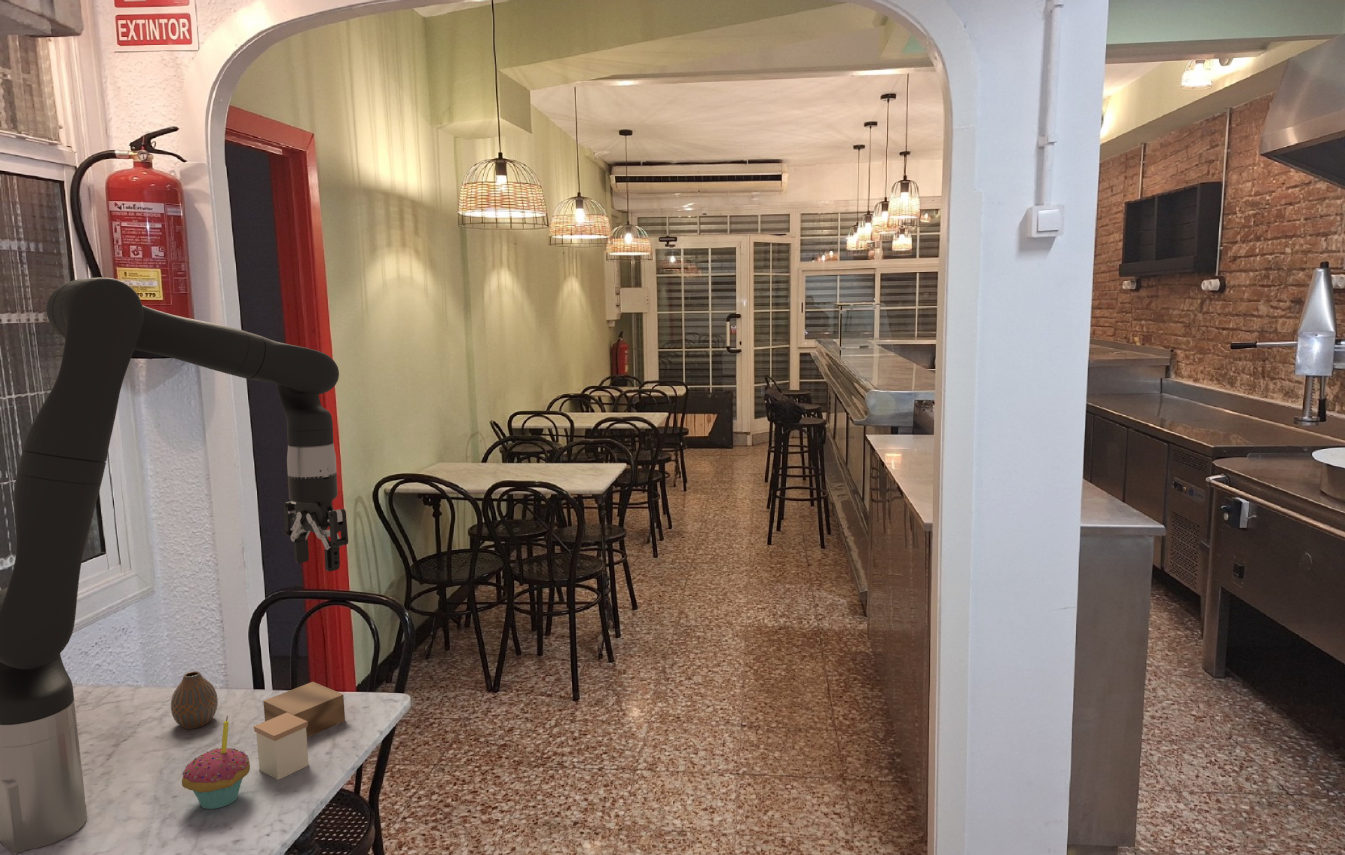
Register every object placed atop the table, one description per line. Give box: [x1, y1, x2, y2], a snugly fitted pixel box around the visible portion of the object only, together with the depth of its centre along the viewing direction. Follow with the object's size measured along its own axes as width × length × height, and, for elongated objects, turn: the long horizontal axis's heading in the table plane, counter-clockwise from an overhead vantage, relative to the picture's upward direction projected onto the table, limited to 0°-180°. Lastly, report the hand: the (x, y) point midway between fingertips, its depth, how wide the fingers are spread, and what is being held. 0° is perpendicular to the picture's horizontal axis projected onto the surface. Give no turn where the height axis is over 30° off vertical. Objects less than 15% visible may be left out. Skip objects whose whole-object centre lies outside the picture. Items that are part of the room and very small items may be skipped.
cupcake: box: [181, 715, 251, 810], centre depth 122 cm, size 9×8×12 cm
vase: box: [170, 670, 219, 730], centre depth 145 cm, size 7×7×9 cm
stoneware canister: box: [253, 713, 310, 781], centre depth 131 cm, size 5×5×7 cm
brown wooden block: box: [262, 681, 346, 739], centre depth 145 cm, size 9×9×5 cm
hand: (317, 566), depth 145 cm, fingers open, 8 cm apart
